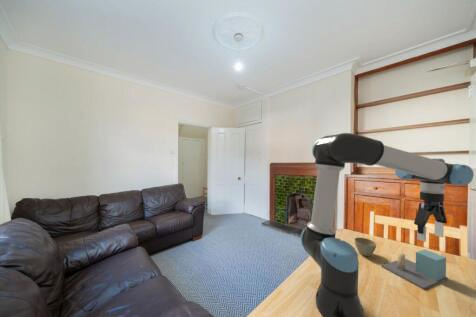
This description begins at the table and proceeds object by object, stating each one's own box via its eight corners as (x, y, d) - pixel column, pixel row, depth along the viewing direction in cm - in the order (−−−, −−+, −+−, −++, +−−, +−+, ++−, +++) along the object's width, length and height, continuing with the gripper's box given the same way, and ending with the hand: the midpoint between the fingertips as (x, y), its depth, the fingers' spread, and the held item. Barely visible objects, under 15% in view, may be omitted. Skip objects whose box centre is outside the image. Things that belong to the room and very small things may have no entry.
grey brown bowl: (376, 261, 94) (376, 247, 94) (353, 255, 100) (353, 242, 100) (376, 252, 102) (376, 240, 101) (355, 247, 108) (355, 235, 108)
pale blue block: (436, 281, 78) (437, 260, 78) (415, 270, 84) (415, 252, 84) (445, 277, 80) (446, 257, 80) (424, 267, 87) (424, 249, 87)
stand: (423, 289, 74) (424, 269, 74) (381, 266, 89) (381, 250, 89) (447, 279, 80) (448, 260, 80) (404, 259, 95) (404, 244, 95)
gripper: (426, 195, 74) (425, 246, 74) (458, 192, 82) (457, 237, 83) (404, 192, 81) (403, 238, 81) (435, 189, 89) (434, 231, 90)
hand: (430, 238), depth 82 cm, fingers open, 13 cm apart
